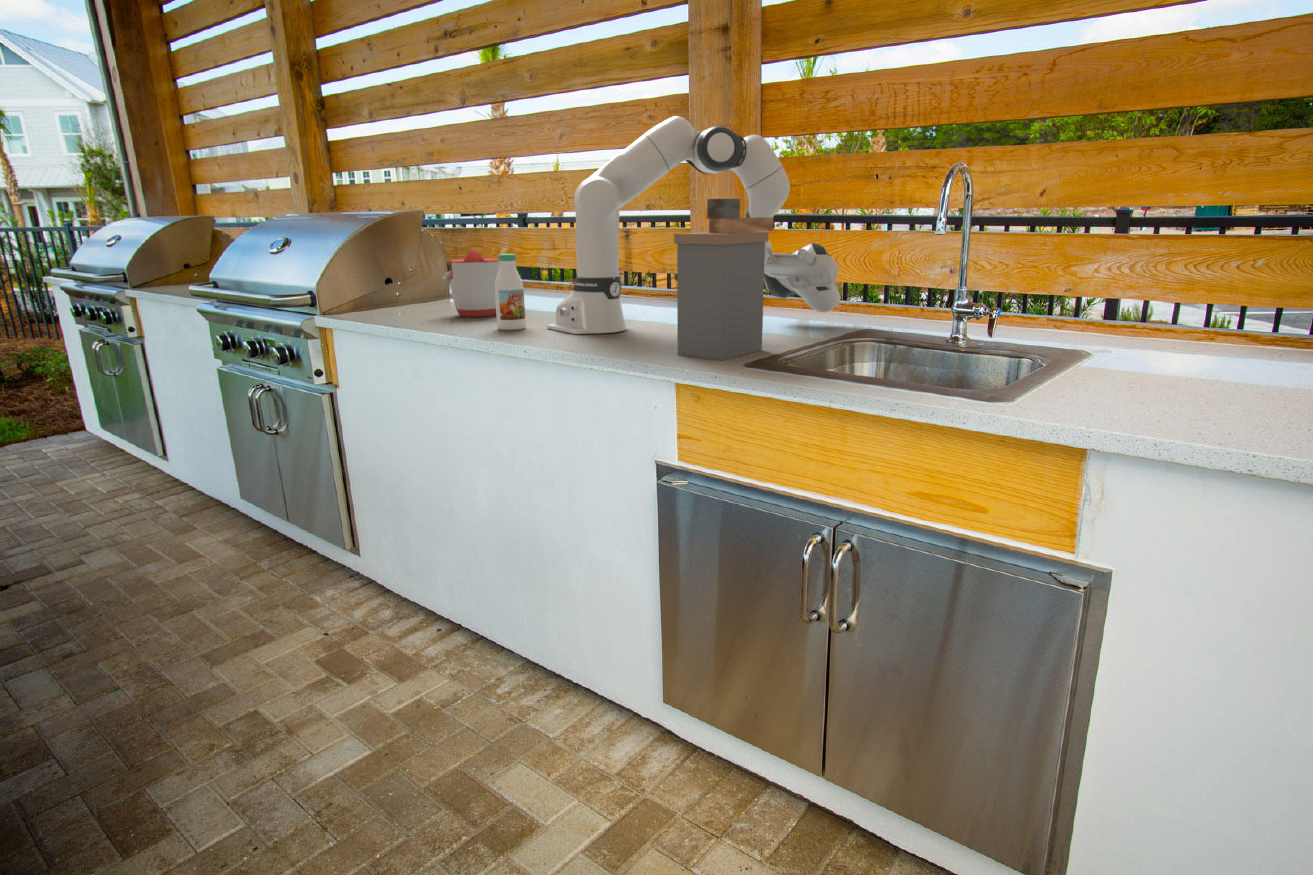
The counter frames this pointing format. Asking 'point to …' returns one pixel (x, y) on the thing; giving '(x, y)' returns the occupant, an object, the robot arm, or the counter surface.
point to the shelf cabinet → (720, 293)
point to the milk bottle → (509, 295)
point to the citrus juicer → (473, 284)
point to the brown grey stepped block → (733, 218)
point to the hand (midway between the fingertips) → (783, 250)
